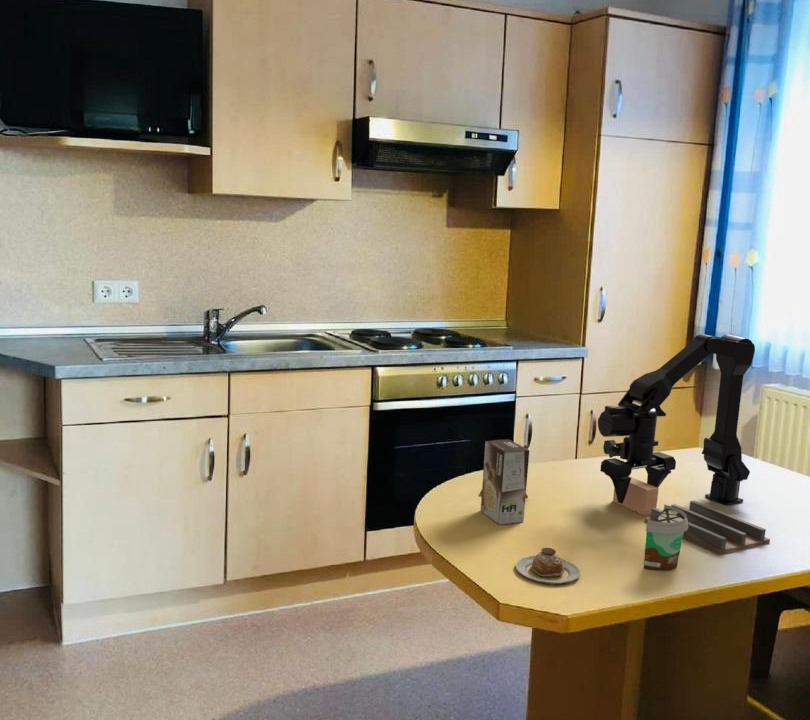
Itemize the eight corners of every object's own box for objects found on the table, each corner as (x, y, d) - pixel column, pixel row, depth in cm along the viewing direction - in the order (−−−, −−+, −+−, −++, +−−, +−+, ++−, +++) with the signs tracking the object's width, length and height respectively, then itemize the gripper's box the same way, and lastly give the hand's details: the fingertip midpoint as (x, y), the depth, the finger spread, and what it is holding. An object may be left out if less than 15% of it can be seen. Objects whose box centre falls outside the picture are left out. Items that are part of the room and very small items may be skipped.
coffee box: (525, 522, 189) (531, 450, 186) (498, 525, 186) (504, 452, 183) (503, 507, 197) (509, 438, 194) (478, 510, 194) (484, 440, 192)
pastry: (572, 562, 170) (574, 539, 169) (586, 589, 158) (589, 565, 157) (510, 559, 170) (512, 537, 169) (520, 586, 158) (522, 562, 157)
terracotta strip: (623, 499, 208) (626, 475, 207) (655, 513, 200) (658, 488, 199) (612, 501, 206) (615, 476, 205) (644, 515, 198) (647, 490, 197)
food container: (673, 579, 164) (679, 528, 162) (641, 570, 167) (646, 520, 165) (690, 559, 174) (696, 510, 172) (659, 551, 177) (665, 503, 175)
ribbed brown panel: (694, 511, 202) (695, 499, 201) (769, 542, 185) (771, 529, 185) (644, 521, 194) (646, 508, 193) (718, 554, 177) (720, 540, 176)
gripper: (644, 422, 211) (637, 484, 214) (586, 429, 202) (580, 494, 204) (680, 434, 202) (673, 499, 205) (622, 442, 192) (614, 510, 195)
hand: (634, 500), depth 203 cm, fingers open, 9 cm apart
